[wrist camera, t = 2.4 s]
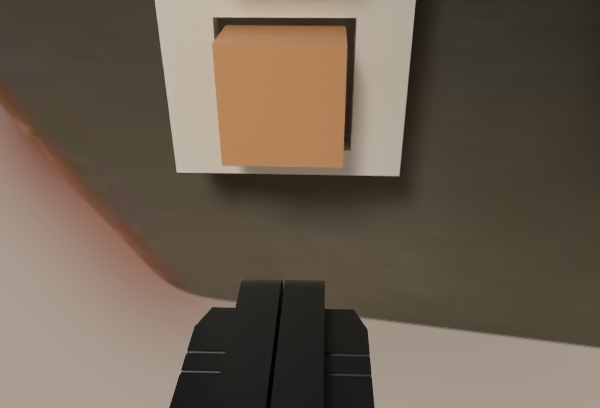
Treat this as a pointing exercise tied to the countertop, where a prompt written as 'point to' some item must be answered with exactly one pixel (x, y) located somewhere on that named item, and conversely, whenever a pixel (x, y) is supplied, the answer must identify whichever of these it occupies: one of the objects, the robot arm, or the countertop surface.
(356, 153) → the white button panel
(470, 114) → the countertop surface
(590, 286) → the countertop surface
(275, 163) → the terracotta button
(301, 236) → the countertop surface
